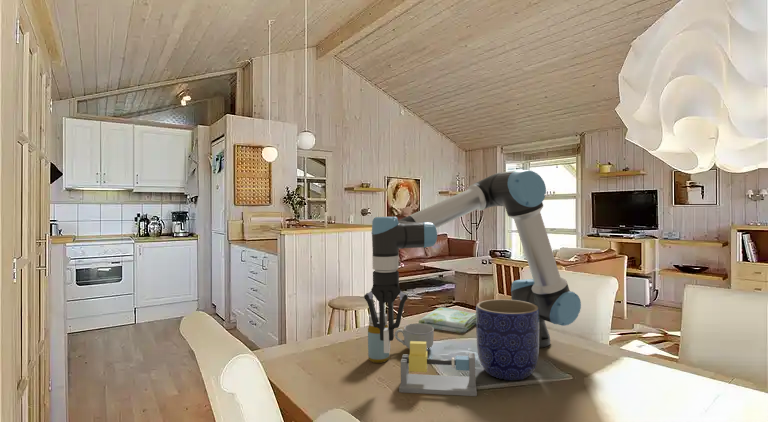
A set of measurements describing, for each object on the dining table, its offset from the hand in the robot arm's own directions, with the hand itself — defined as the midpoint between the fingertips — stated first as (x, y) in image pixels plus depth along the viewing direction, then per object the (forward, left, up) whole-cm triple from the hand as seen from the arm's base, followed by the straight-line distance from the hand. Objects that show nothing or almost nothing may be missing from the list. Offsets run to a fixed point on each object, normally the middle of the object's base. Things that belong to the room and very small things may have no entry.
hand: (387, 351), depth 126 cm
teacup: (-5, -30, -10) cm, 32 cm away
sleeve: (-9, 0, -5) cm, 10 cm away
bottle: (+6, -19, -10) cm, 22 cm away
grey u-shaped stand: (-15, 0, -10) cm, 17 cm away
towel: (-17, -63, -10) cm, 66 cm away
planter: (-35, -12, -10) cm, 38 cm away
